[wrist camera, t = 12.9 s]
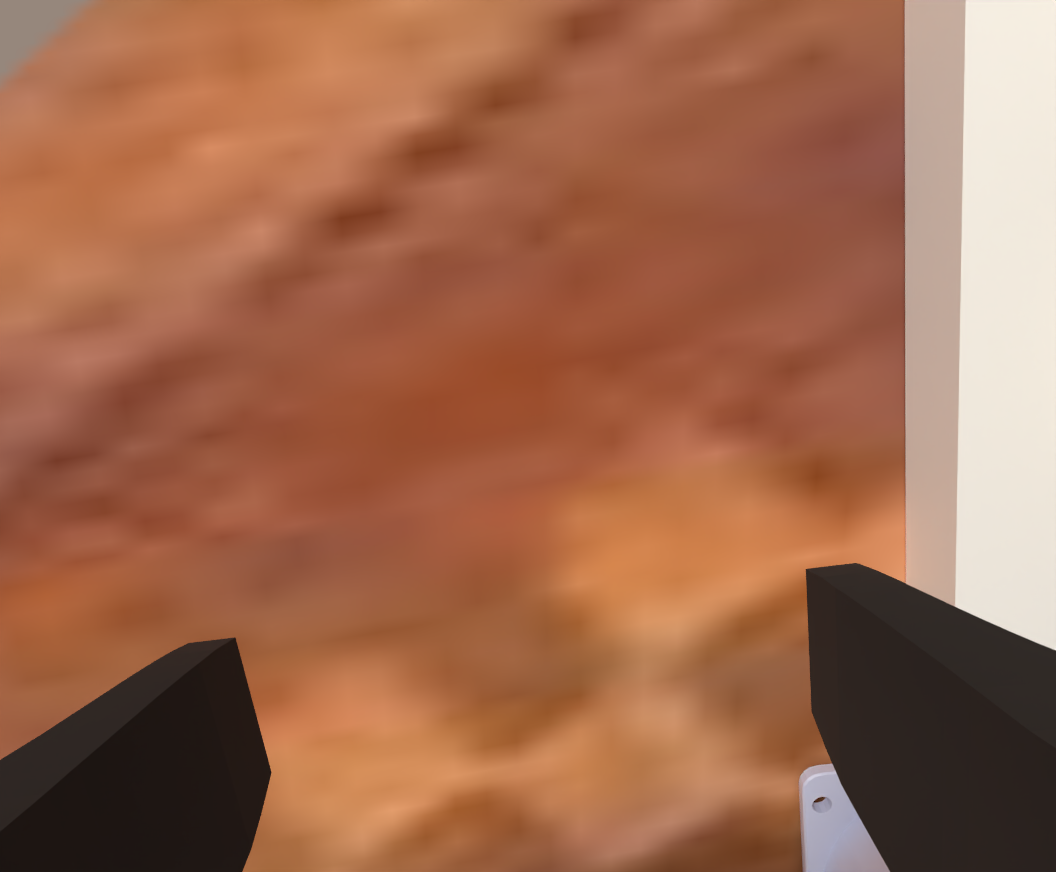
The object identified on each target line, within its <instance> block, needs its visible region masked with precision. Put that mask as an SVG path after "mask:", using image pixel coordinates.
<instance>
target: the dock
mask: <svg viewBox="0 0 1056 872" xmlns="http://www.w3.org/2000/svg"><path fill="white" fill-rule="evenodd" d="M905 429H906V584H908V585H910V586H912V587H914V588H916V589H918V590H921V591H923V592H925V593H927V594H929V595H931V596H933V597H935V598H938V599H940V600H942V601H944V602H946V603H948V604H950V605H953V606H955V607H957V608H959V609H961V610H963V611H966V612H968V613H970V614H972V615H974V616H977V617H979V618H981V619H983V620H985V621H988V622H990V623H992V624H994V625H997V626H999V627H1001V628H1003V629H1006V630H1008V631H1010V632H1013V633H1015V634H1017V635H1020V636H1022V637H1024V638H1027V639H1029V640H1031V641H1034V642H1036V643H1038V644H1041V645H1044V646H1046V647H1049V648H1051V649H1054V650H1056V0H905Z"/></svg>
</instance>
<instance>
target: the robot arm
mask: <svg viewBox="0 0 1056 872" xmlns="http://www.w3.org/2000/svg"><path fill="white" fill-rule="evenodd" d="M806 582H807V607H808V632H809V656H810V681H811V706H812V714H813V716H814V719H815V721H816V724H817V726H818V729H819V731H820V734H821V737H822V739H823V742H824V744H825V747H826V749H827V752H828V754H829V757H830V759H831V761H832V764H823V765H816V766H812V767H809V768H808V769H806V770H805V771H803V773H802V774H801V776H800V778H799V800H800V821H801V843H802V864H803V872H1056V650H1054V649H1051V648H1049V647H1046V646H1044V645H1041V644H1038V643H1036V642H1034V641H1031V640H1029V639H1027V638H1024V637H1022V636H1020V635H1017V634H1015V633H1013V632H1010V631H1008V630H1006V629H1003V628H1001V627H999V626H997V625H994V624H992V623H990V622H988V621H985V620H983V619H981V618H979V617H977V616H974V615H972V614H970V613H968V612H966V611H963V610H961V609H959V608H957V607H955V606H953V605H950V604H948V603H946V602H944V601H942V600H940V599H938V598H935V597H933V596H931V595H929V594H927V593H925V592H923V591H921V590H918V589H916V588H914V587H912V586H910V585H908V584H906V583H903V582H901V581H899V580H897V579H895V578H892V577H890V576H888V575H886V574H883V573H881V572H879V571H876V570H874V569H871V568H869V567H866V566H863V565H860V564H857V563H853V564H844V565H836V566H828V567H819V568H811V569H806ZM270 776H271V769H270V765H269V762H268V758H267V754H266V750H265V747H264V743H263V739H262V736H261V732H260V728H259V724H258V721H257V717H256V713H255V709H254V706H253V702H252V698H251V694H250V691H249V687H248V683H247V679H246V676H245V672H244V668H243V664H242V661H241V657H240V653H239V649H238V646H237V642H236V638H228V639H220V640H211V641H203V642H195V643H188V644H186V645H184V646H182V647H180V648H178V649H176V650H174V651H172V652H170V653H168V654H167V655H165V656H163V657H161V658H160V659H158V660H156V661H155V662H153V663H151V664H150V665H148V666H146V667H145V668H143V669H142V670H140V671H138V672H137V673H135V674H134V675H132V676H131V677H129V678H127V679H126V680H124V681H123V682H121V683H120V684H118V685H117V686H115V687H114V688H112V689H111V690H109V691H107V692H106V693H104V694H103V695H101V696H100V697H98V698H97V699H95V700H94V701H92V702H91V703H89V704H88V705H86V706H84V707H83V708H81V709H80V710H78V711H77V712H75V713H74V714H72V715H71V716H69V717H68V718H66V719H65V720H63V721H62V722H60V723H58V724H57V725H55V726H54V727H52V728H51V729H49V730H48V731H46V732H45V733H43V734H42V735H40V736H38V737H37V738H35V739H34V740H32V741H30V742H29V743H27V744H25V745H24V746H22V747H21V748H19V749H17V750H16V751H14V752H12V753H11V754H9V755H8V756H6V757H4V758H3V759H1V760H0V872H242V871H243V868H244V866H245V863H246V861H247V858H248V856H249V853H250V851H251V848H252V844H253V841H254V837H255V834H256V830H257V827H258V823H259V820H260V816H261V813H262V809H263V805H264V801H265V797H266V792H267V788H268V784H269V780H270ZM820 797H826V798H825V799H824V800H823V801H821V802H818V803H816V802H814V801H815V800H816V799H817V798H820Z"/></svg>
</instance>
